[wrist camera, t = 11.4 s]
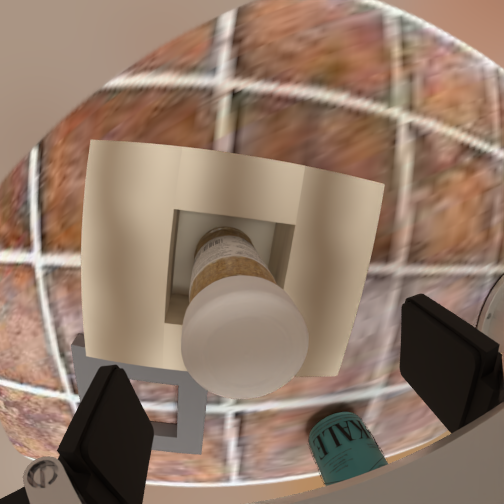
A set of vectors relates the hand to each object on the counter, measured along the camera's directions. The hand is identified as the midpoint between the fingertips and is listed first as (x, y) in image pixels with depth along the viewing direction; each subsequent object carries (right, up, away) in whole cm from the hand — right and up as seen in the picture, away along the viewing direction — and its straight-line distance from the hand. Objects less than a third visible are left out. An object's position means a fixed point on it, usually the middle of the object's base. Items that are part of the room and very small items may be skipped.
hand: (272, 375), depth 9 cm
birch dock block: (-3, +4, +15) cm, 16 cm away
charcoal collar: (-11, -10, +17) cm, 23 cm away
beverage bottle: (+8, -15, +21) cm, 27 cm away
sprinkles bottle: (-3, +4, +14) cm, 15 cm away
